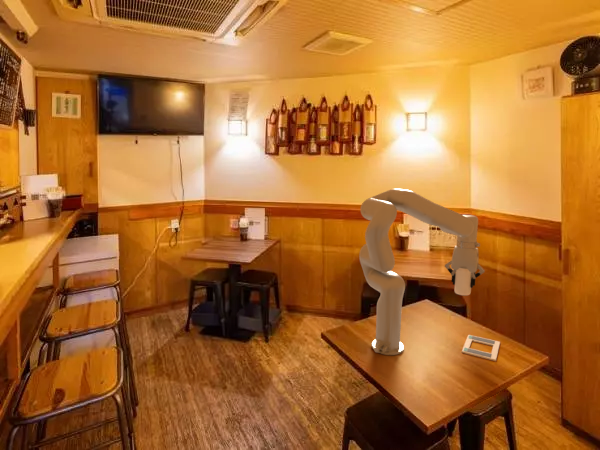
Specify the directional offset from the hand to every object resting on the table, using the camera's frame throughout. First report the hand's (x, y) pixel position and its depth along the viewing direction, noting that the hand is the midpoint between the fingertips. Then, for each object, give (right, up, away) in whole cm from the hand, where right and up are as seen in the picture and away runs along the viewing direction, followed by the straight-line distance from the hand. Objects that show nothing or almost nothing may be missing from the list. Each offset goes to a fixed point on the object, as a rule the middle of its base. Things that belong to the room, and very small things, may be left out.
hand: (462, 285), depth 162 cm
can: (0, -4, +1) cm, 4 cm away
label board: (+3, -24, -10) cm, 26 cm away
